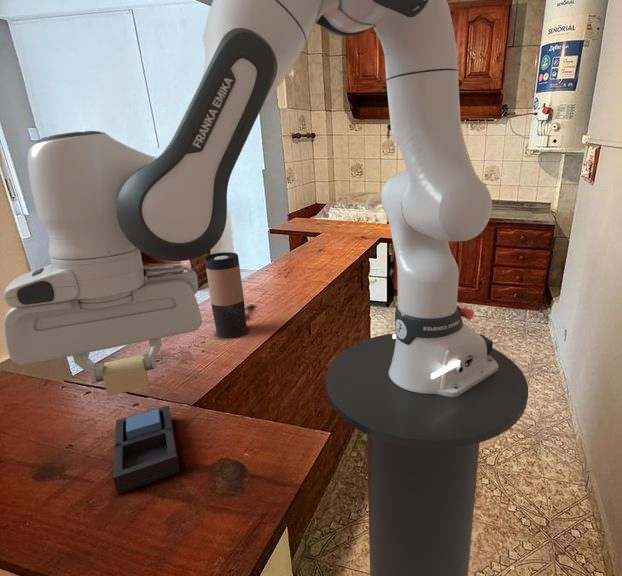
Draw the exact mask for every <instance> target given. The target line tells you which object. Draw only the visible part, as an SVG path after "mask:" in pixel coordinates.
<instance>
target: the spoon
mask: <svg viewBox="0 0 622 576" xmlns="http://www.w3.org/2000/svg"><path fill="white" fill-rule="evenodd" d="M244 305H245V311H246V310H247V309H248V308H251V307H253V306H254V304H253V303H246V304H244Z"/></svg>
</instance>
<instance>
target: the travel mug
mask: <svg viewBox="0 0 622 576" xmlns="http://www.w3.org/2000/svg"><path fill="white" fill-rule="evenodd" d="M204 264H205V269H206V277H207V282H208V292H209V299H210V304H211V305H210V306H211V311H212V316H213V321H214V325H215V331H216V335H217V337H219V338H222V339H232V338H234V339H235V338H237V337H241V336H243V335H244V334H246V333H247V330H248V329H247V318H246V310H245V305H246V304H245V296H244V288H243V282H242V273H241V267H240V259H239V254H238V253H236V252H228V251H226V252H225V251H224V252H223V251H222V252H216V253H215V252H214V253H211V254H208V255H206V256H204Z"/></svg>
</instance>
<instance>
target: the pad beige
mask: <svg viewBox="0 0 622 576" xmlns="http://www.w3.org/2000/svg"><path fill="white" fill-rule="evenodd" d="M142 355H143V354H139V355H134V356H128V357H125V358H120V359H116V360H111V361H105V362H104V363H103V364H104V372H103V379H104V381H103V383H104V387H105V391H106V396H107V397H111V396H112V397H113V396H116V395H119V394H124V393H127V392H133V391H136V390H139V389H140V390H141V389H144V388H148V387H149V379H148V370H147V371H145V366H144V363H143V359H142Z"/></svg>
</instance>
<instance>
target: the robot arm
mask: <svg viewBox="0 0 622 576" xmlns="http://www.w3.org/2000/svg"><path fill="white" fill-rule="evenodd" d="M315 25H318V26H320V27H321V28H322V29H324V30H325V31H327V32H329V33H330V34H332V35H336V36H339V37H353V36H357V35H360V34H362V33H363V32H365V31H366V30H369V29H371V28H373V31H374V32H375V33H376V35H377V38H378V39H379V42H380V44H381V47H382V51H383V55H384V70H385V83H386V92H387V103H388V104H387V105H388V112H389V122H390V131H391V132H390V133H391V136H392V139H393V140H394V141H395V143H396V144H397V146H398V148H399V150H400V152H401V155H402V158H403V162H404V164H405V168H406V169H405V170H402V171H399V172H397V173H395V174H394V175H392V176H390V177H389V178H388V179H387V180H386V182H385V183H384V185H383V187H382V190H381V196H380V197H381V198H380V200H381V206H382V209H383V211H384V213H385V215H386V217H387V221H388V224H389V229H390V234H391V240H392V245H393V249H394V256H395V261H396V271H397V273H396V275H397V276H396V277H397V278H396V279H397V282H396V283H397V304H396V306H395V307H394V331H395V332H394V333H396V334H393V339H395V338H396V342H395V349H394V354H393V359H392V363H391V366H390V369H389V377H390V379H391V380H392V381H393V382H394V383H395V384H396V385H398V386H399V387H401V388H403V389H406V390H409V391H412V392H416V393H424V394H439V395H443V396H447V397H457V396H459V395H460V394H462V393H464V392H465V391H467V390H468V389H470V388H471V387H473V386H475V385H476V384H478V383H479V382H481V381H482V380H484V379H485V378H487V377H489V376H490V375H492V374H493V373H495V372H496V371H498V364H497V362H496V361H495V360H494V359H493V358H492V357H491V356H490V355H489V353H490V352H492V348H493V346H494V341H493V340H491V339H489V338H488V337H486V336H485V335H483V334H482V333H478V332H477V331H475V330H474V329H472V328H471V327H469V326H468V325H467V324H465V322H463V318H465V319H466V320H468V321H470V320H472V319H473V317H474V315H475V311H474V310H473V309H471V308H468V307H467V306H464V307H462V308H461V306H460V305H458V296H459V295H458V292H459V276H460V272H459V271H460V270H459V266H458V263H457V262H456V259H455V258H454V256H453V254H452V251H451V248H450V244H449V242H465V241H470V240H473V239H475V238H476V237H478V236H479V235H480V234H481V233H482V232H483V231H484V230H485V228H486V227H487V225H488V223H489V221H490V219H491V216H492V210H493V201H492V195H491V193H490V190H489V189H488V187H487V186H486V184H485V183H484V182H483V181H482V180H481V179H480V176H478V174H477V172H476V170H475V168H474V166H473V163H472V161H471V157H470V154H469V151H468V147H467V145H466V141H465V137H464V132H463V127H462V120H461V119H462V118H461V105H460V103H461V102H460V85H459V84H460V83H459V64H458V63H459V61H458V51H457V43H456V34H455V28H454V24H453V18H452V14H451V9H450V6H449V3H448V1H447V0H212V2H211V4H210V7H209V11H208V15H207V18H206V22H205V26H204V30H203V34H202V42H203V48H204V65H203V70H202V74H201V78H200V81H199V84H198V86H197V88H196V90H195V92H194V94H193V96H192V98H191V101H190V102H189V104H188V106H187V108H186V110H185V113H184V114H183V116H182V118H181V120H180V122H179V124H178V127H177V129H176V131H175V133H174V134H173V137H172V138H171V140H170V142H169V143H168V145H167V146H166V148H165V149H164V150H163V151H162V153H161V154H160V155H159V156H158V157H155V156H152V155H150V154H147V153H144V152H142V151H139V150H137V149H135V148H132V147H130V146H128V145H126V144H125V143H122V142H121V141H118V140H116V138H114V137H112V136H110V135H109V134H108V133H106V132H104V131H103V132H102V131H100V130H99V131H96V130H84V131H73V132H64V133H60V134H53V135H49V136H45V137H41V138H40V139H38V140H37V141H36V142H33V144H32V146H31V147H30V148H29V150H28V154H27V171H28V178H29V184H30V189H31V194H32V198H33V202H34V206H35V210H36V214H37V217H38V219H39V221H40V223H41V224H42V225H43V227H44V229H45V232H47V236H48V251H47V252H48V257H49V261H50V264H48V265H45V266H43V267H39V268H37V269H35V270H31V271H28V272H26V273H23V274H21V275H19V276H17V277H16V278H15V279H13V280H12V281H11V282H10V283H9V284H8V285H7V286H6V288H5V289H4V292H3V298H4V302H5V303H6V305H7V306H8V307H10V309H9V310H8V311H7V312H6V314H5V316H4V318H3V334H4V340H5V345H6V350H7V353H8V357H9V359H10V360H11V361H12V362H14V363H15V364H17V365H19V366H22V367H23V366H29V365H33V364H34V365H35V364H38V363H44V362H48V361H54V360H59V359H65V358H68V357H73V362H74V363H75V365H76V366H77V367H79V368H81V369H82V370H83V371H85V372H86V373H88V374H89V377H90V381H91V383H92V384H97V383H101V382H104V379H103V372H104V363H100V364H96V363H95V362H94V361H92V360H91V358H89V357H90V353H93V352H98V351H103V350H108V349H113V348H118V347H122V346H127V345H133V344H137V343H143V342H148V343H149V347H150V350H149V351H148V353H146V354H141V355H142V359H143V363H144V366H145V371H147V372H148V371H152V370H156V369H158V364H157V359H156V358H157V356H158V354H159V352H160V350H161V348H162V346H163V344H162V343H163V342H162V338H167V337H172V336H178V335H183V334H188V333H192V332H193V333H194V332H196V331H198V330H199V329H200V328H201V326H202V325H203V318H202V314H201V309H200V307H199V304H198V301H197V298H196V294H197V292H198V290H199V286H200V285H199V280H198V275H197V272H196V271H194V270H193V268H190V267H187V266H183V264H174V265H173V264H172V265H171V266H161V267H160V266H158V267H148V268H144V264H143V260H142V254H141V252H142V253H143V254H145V255H147V256H149V257H151V258H155V259H158V260H162V261H167V262H185V261H190V260H194V259H197V258H199V257H202V256H204V255H205V254H207V253H208V252H210V251H211V250H212V249H213V248H214V247H215V246H216V245H217V244H218V243H219V241H220V240H221V238H222V237H223V234H224V232H225V229H226V225H227V220H228V219H227V218H228V188H229V183H230V179H231V175H232V173H233V170H234V168H235V166H236V164H237V162H238V159H239V157H240V155H241V153H242V151H243V148H244V146H245V144H246V142H247V140H248V138H249V136H250V133H251V131H252V129H253V127H254V125H255V123H256V120H257V118H258V116H259V115H260V113H261V110H262V108H264V105H265V104H266V103H267V101H269V99H270V98H271V96H273V94H274V93H275V92H276V90H277V89H278V88H279V87H280V86H281V84H282V83H283V81H284V80H285V79H286V78H287V76H288V75H289V74H290V72H291V70H292V69H293V68H294V66H295V64H296V62H297V61H298V59H299V58H300V55H301V54H302V52H303V50H304V48H305V46H306V44H307V42H308V40H309V38H310V35H311V34H312V32H313V29H314V27H315Z"/></svg>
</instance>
